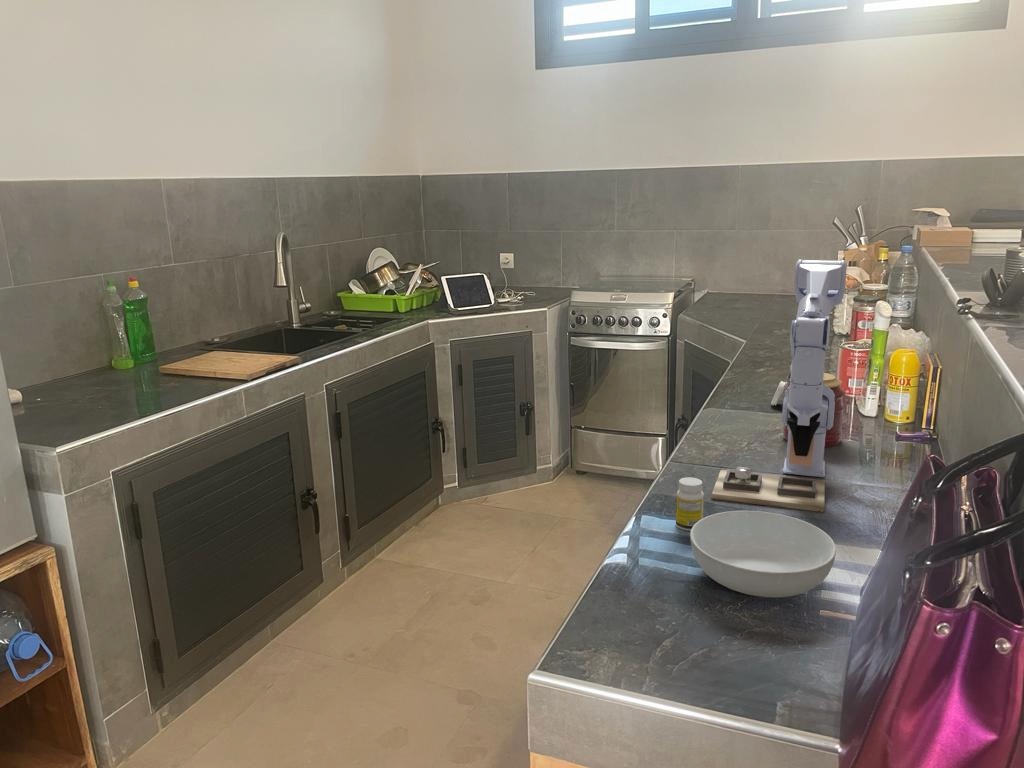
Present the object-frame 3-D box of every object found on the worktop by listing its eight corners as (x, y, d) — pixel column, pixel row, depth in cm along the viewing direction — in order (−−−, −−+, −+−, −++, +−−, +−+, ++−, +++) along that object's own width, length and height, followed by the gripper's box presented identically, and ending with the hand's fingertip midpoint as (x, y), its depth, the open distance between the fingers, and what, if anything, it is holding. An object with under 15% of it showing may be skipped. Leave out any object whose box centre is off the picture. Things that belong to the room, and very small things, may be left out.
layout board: (720, 474, 162) (721, 464, 162) (824, 485, 155) (825, 474, 155) (711, 498, 150) (712, 487, 149) (823, 512, 142) (824, 500, 142)
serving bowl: (661, 581, 119) (662, 539, 117) (733, 537, 133) (735, 500, 131) (791, 633, 104) (795, 586, 103) (856, 578, 118) (860, 536, 117)
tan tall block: (789, 456, 151) (792, 422, 149) (812, 459, 150) (814, 423, 148) (789, 463, 147) (791, 428, 146) (811, 465, 146) (814, 429, 144)
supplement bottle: (683, 518, 141) (685, 474, 139) (707, 524, 138) (709, 480, 136) (670, 527, 137) (672, 482, 135) (695, 534, 134) (697, 488, 132)
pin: (735, 480, 156) (736, 466, 155) (751, 482, 155) (752, 467, 154) (733, 485, 153) (734, 471, 152) (749, 487, 152) (750, 472, 151)
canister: (842, 434, 186) (848, 362, 182) (839, 451, 175) (846, 374, 171) (785, 428, 192) (789, 358, 187) (778, 444, 180) (783, 369, 176)
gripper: (830, 392, 137) (824, 466, 140) (829, 374, 150) (824, 442, 153) (787, 390, 139) (782, 462, 143) (790, 372, 152) (786, 438, 156)
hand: (801, 451), depth 148 cm, fingers closed on tan tall block, 4 cm apart
